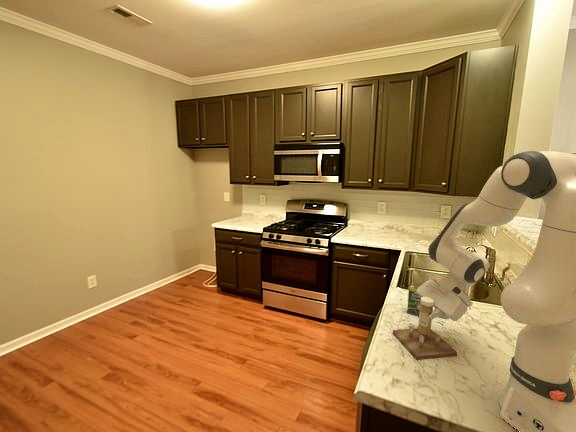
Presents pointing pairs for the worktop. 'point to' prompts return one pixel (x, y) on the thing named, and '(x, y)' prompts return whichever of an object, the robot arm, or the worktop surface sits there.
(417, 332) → the pin board
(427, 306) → the sprinkles bottle
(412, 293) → the coffee box
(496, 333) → the worktop surface
